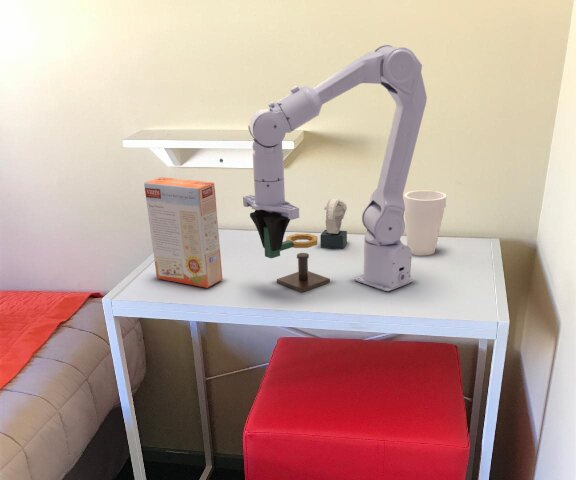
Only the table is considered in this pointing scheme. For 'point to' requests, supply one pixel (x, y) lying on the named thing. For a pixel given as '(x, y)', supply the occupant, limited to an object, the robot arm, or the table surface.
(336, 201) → the bust statue
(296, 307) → the table surface
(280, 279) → the peg stand
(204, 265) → the cracker box
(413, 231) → the foam cup
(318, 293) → the table surface
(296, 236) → the octagonal ring with handle
